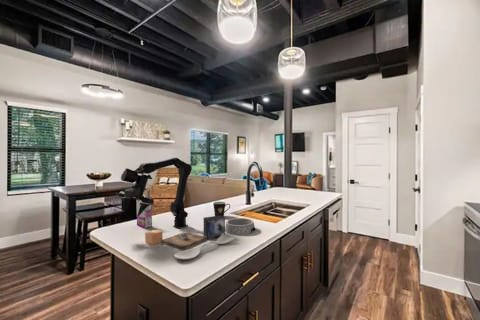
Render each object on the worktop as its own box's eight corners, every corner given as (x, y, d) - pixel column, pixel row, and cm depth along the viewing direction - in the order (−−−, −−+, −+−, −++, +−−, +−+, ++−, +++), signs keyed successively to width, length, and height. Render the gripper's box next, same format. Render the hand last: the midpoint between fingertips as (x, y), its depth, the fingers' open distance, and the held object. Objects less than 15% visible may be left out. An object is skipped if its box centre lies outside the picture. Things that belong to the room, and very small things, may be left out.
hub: (145, 242, 121) (145, 232, 121) (155, 238, 126) (155, 229, 126) (152, 244, 117) (152, 234, 117) (162, 241, 122) (162, 231, 122)
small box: (207, 240, 123) (206, 220, 123) (203, 236, 129) (202, 217, 128) (225, 236, 128) (225, 217, 127) (221, 233, 133) (220, 214, 133)
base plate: (185, 234, 133) (185, 226, 132) (206, 239, 123) (206, 231, 123) (161, 243, 120) (161, 234, 119) (182, 250, 110) (182, 240, 110)
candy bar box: (152, 226, 147) (152, 200, 147) (145, 228, 144) (144, 201, 143) (144, 223, 155) (143, 198, 154) (136, 225, 151) (135, 199, 150)
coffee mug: (212, 217, 166) (211, 203, 166) (215, 214, 175) (215, 201, 174) (228, 218, 164) (227, 204, 164) (230, 215, 173) (230, 201, 172)
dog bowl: (219, 232, 135) (219, 223, 135) (234, 224, 151) (234, 216, 151) (246, 237, 127) (246, 227, 127) (259, 228, 143) (259, 219, 143)
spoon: (235, 243, 119) (235, 236, 119) (182, 265, 95) (182, 257, 95) (223, 238, 125) (223, 232, 125) (170, 259, 101) (170, 251, 101)
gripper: (116, 179, 124) (105, 208, 121) (146, 186, 119) (136, 217, 116) (129, 182, 135) (120, 210, 131) (158, 189, 130) (149, 217, 126)
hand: (131, 213), depth 126 cm, fingers open, 9 cm apart
